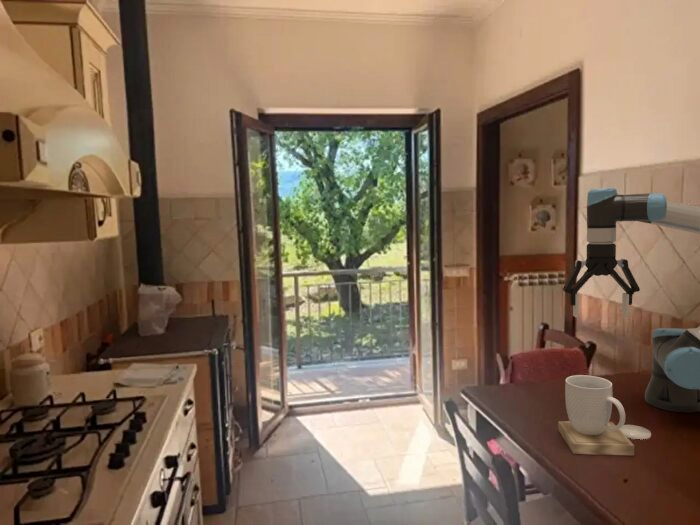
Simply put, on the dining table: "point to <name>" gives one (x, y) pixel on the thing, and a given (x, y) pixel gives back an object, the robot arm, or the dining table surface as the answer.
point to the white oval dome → (635, 432)
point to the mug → (591, 404)
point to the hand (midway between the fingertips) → (600, 316)
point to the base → (596, 441)
